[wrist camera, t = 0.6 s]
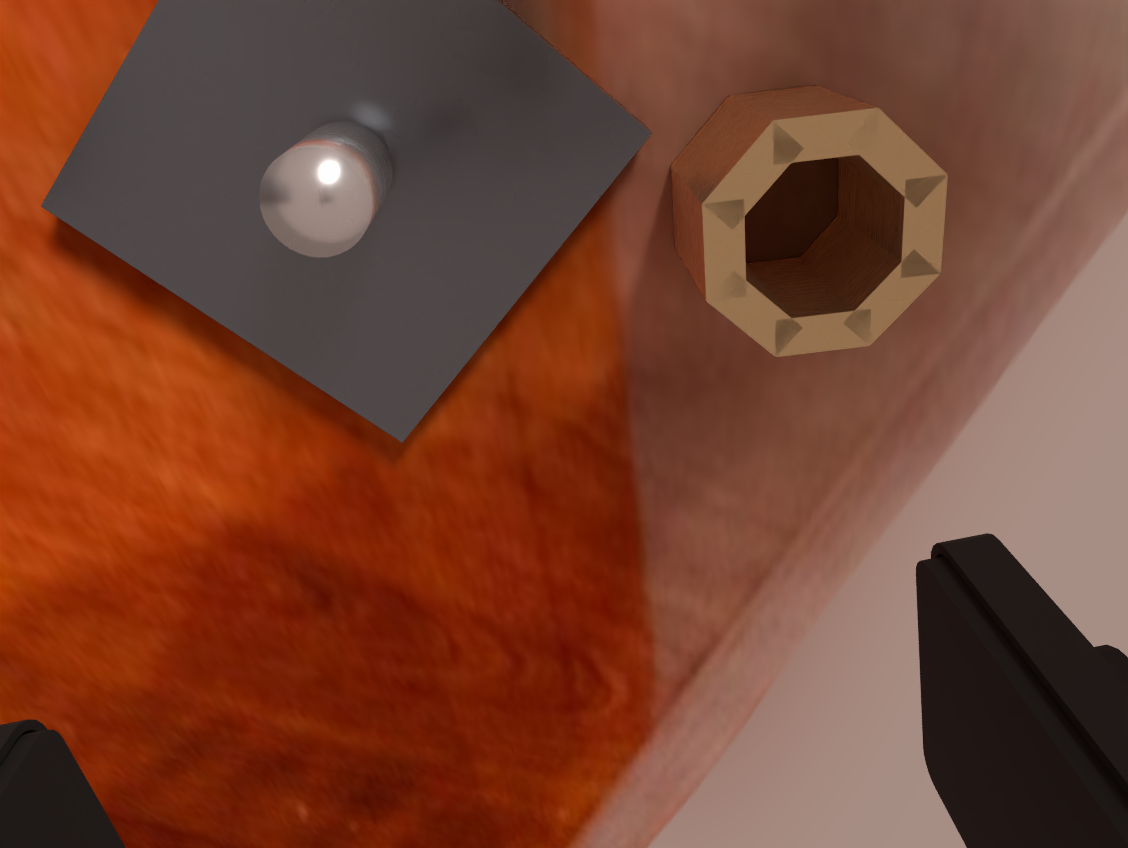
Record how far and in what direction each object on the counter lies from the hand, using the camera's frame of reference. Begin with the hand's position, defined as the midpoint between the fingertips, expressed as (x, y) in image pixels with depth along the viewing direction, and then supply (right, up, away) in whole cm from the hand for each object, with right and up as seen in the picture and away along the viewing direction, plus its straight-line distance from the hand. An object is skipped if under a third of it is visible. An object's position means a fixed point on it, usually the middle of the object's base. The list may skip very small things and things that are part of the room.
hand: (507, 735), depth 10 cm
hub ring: (+8, +11, +22) cm, 26 cm away
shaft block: (-7, +12, +21) cm, 25 cm away
